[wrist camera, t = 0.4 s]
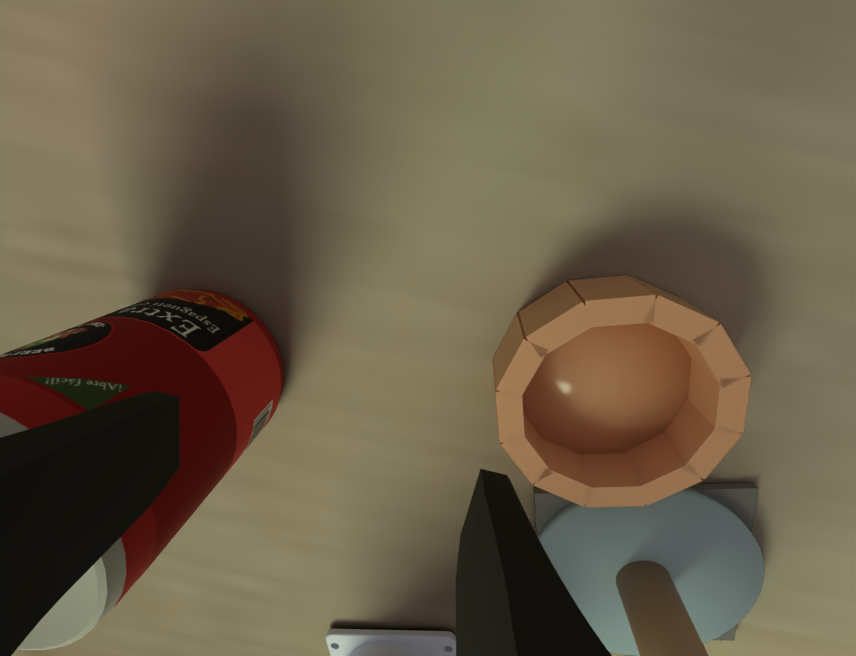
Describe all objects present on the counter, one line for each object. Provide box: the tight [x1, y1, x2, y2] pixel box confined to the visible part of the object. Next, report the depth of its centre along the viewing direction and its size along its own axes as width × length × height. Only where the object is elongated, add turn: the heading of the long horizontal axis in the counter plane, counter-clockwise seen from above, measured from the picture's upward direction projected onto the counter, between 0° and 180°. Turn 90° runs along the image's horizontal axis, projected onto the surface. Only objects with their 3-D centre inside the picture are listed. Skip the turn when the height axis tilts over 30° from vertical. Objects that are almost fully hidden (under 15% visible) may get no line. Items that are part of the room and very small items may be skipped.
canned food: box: [0, 289, 284, 650], centre depth 16 cm, size 8×8×11 cm
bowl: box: [493, 275, 751, 507], centre depth 18 cm, size 9×9×3 cm
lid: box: [537, 488, 764, 656], centre depth 19 cm, size 11×11×6 cm
